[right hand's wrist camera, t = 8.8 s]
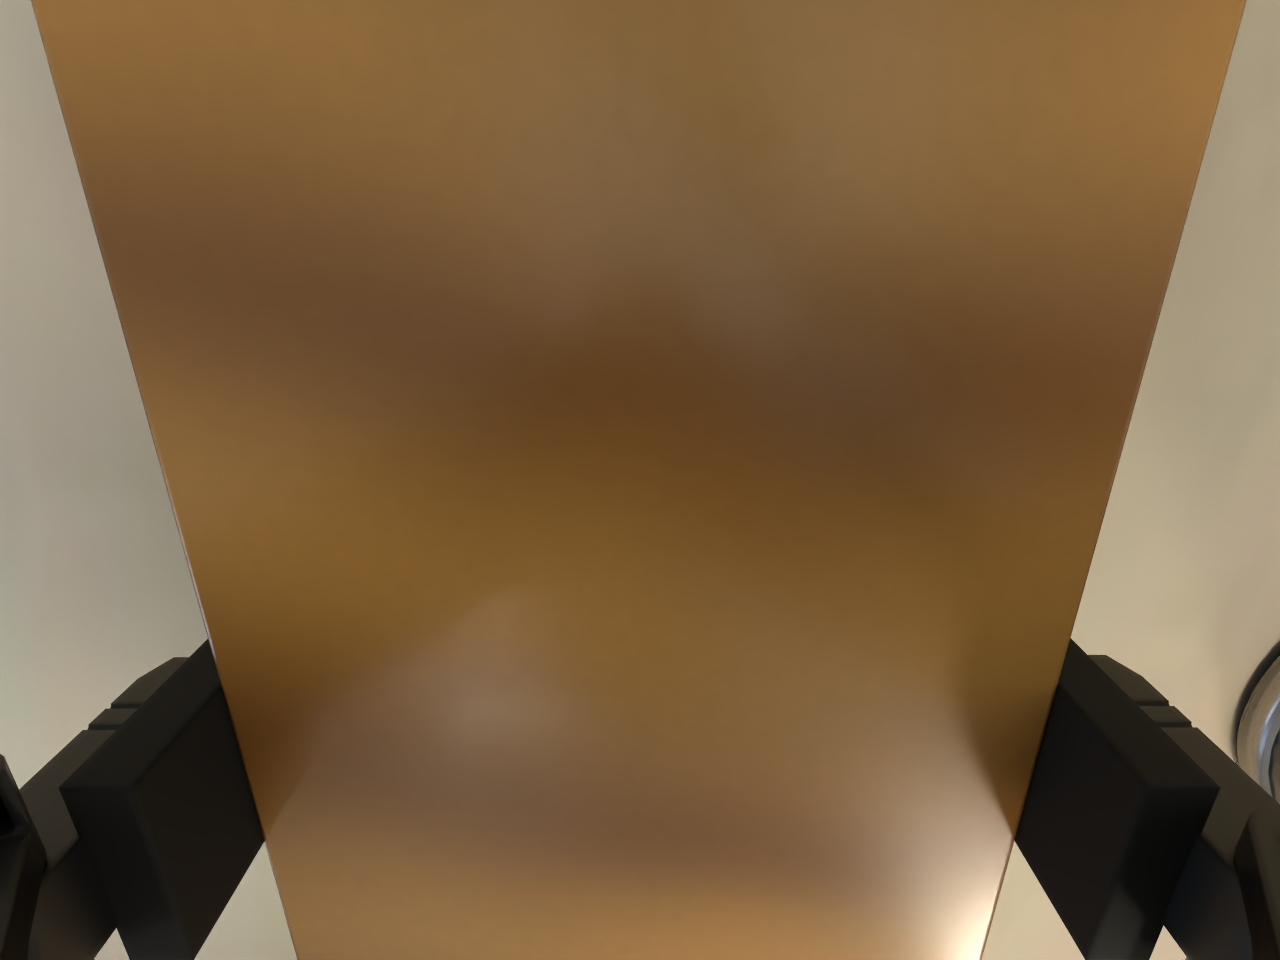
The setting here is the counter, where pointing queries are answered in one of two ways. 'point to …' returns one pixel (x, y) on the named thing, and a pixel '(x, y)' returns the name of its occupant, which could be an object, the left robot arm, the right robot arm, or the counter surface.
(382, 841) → the cabinet
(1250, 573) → the counter surface
